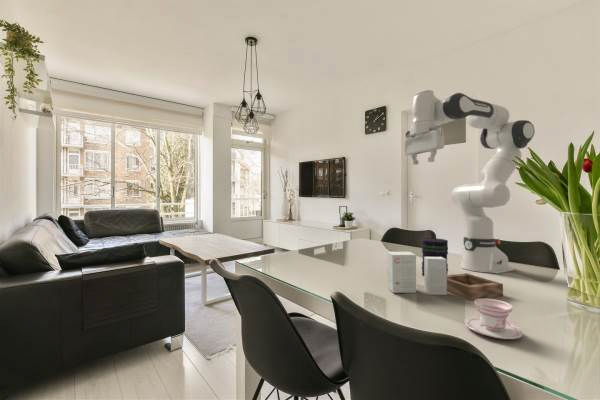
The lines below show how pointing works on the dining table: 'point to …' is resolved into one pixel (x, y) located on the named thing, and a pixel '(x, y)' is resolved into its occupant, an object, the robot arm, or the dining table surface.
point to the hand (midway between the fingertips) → (423, 163)
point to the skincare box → (435, 275)
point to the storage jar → (434, 249)
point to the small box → (402, 272)
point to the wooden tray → (473, 287)
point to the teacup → (493, 320)
